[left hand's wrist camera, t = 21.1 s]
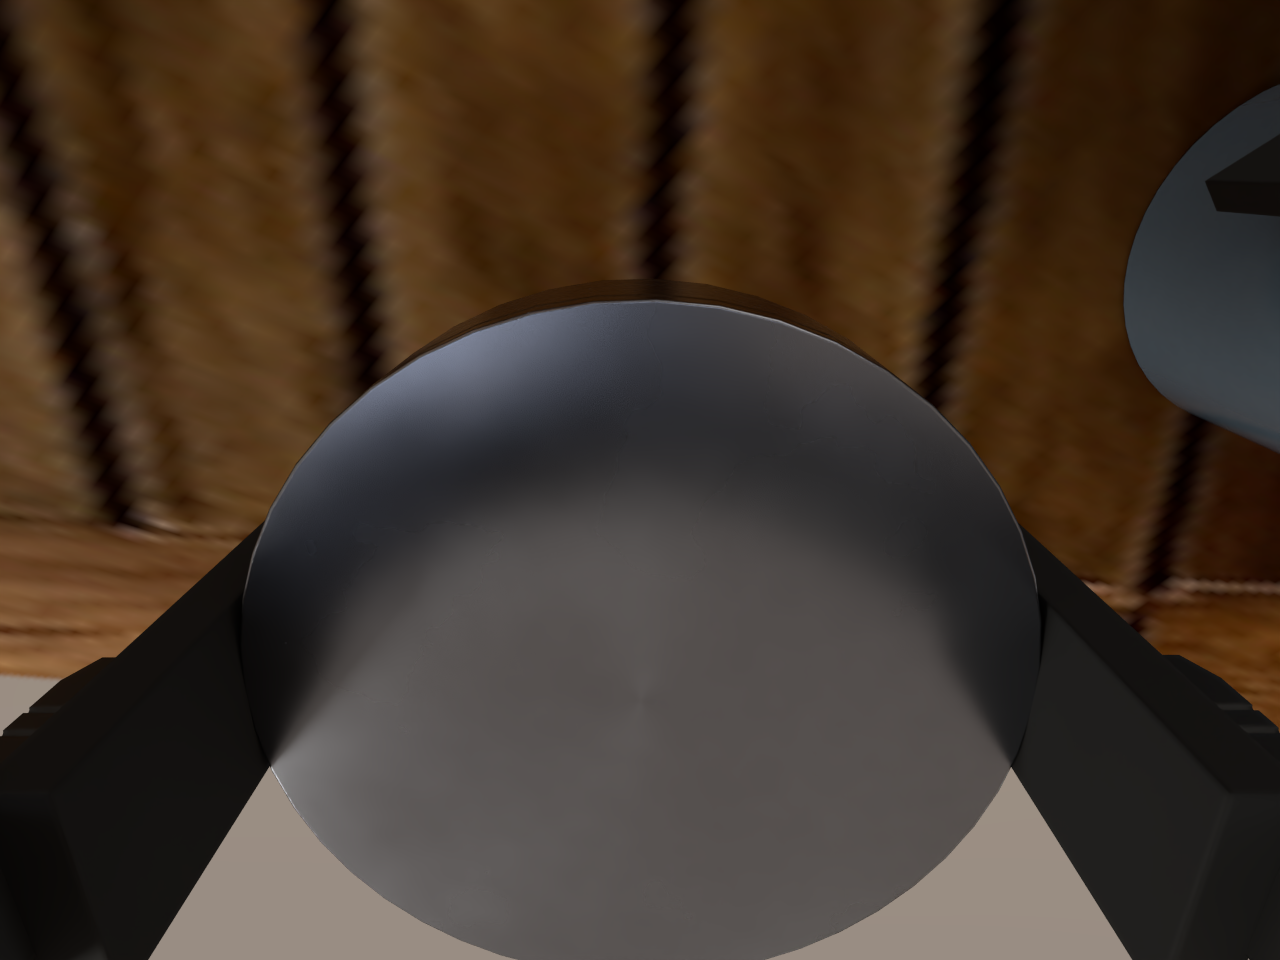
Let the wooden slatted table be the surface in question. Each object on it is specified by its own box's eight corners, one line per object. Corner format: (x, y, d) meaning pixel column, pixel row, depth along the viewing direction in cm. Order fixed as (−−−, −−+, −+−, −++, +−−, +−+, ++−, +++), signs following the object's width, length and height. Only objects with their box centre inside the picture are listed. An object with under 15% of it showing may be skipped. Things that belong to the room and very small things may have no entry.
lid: (197, 713, 13) (126, 799, 11) (502, 110, 10) (470, 96, 8) (729, 955, 15) (741, 1061, 13) (1131, 525, 12) (1220, 589, 10)
